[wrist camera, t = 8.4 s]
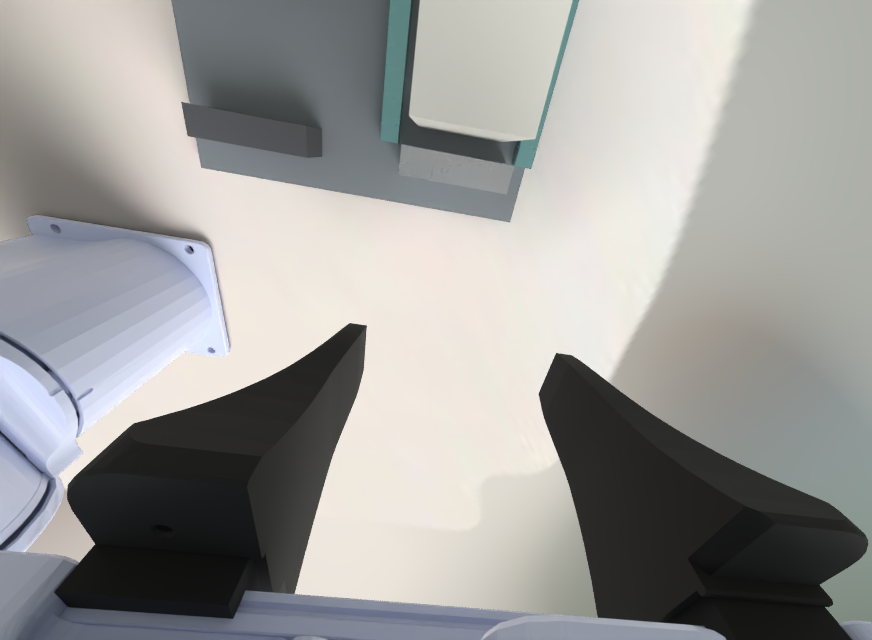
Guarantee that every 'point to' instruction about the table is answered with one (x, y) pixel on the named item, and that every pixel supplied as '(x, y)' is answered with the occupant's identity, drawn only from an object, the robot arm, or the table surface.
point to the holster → (252, 131)
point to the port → (437, 162)
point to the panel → (322, 98)
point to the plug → (485, 65)
